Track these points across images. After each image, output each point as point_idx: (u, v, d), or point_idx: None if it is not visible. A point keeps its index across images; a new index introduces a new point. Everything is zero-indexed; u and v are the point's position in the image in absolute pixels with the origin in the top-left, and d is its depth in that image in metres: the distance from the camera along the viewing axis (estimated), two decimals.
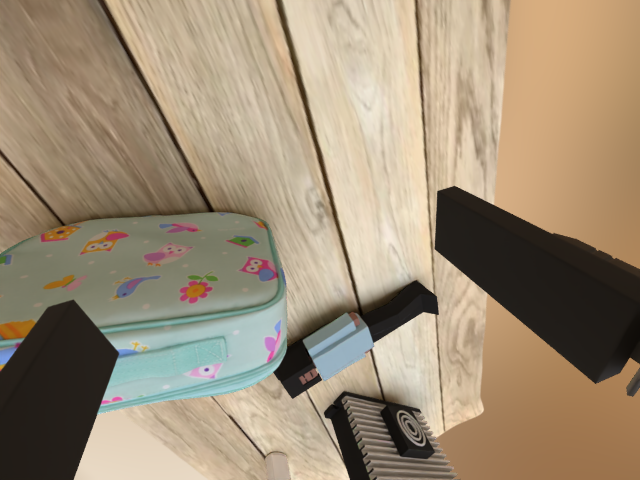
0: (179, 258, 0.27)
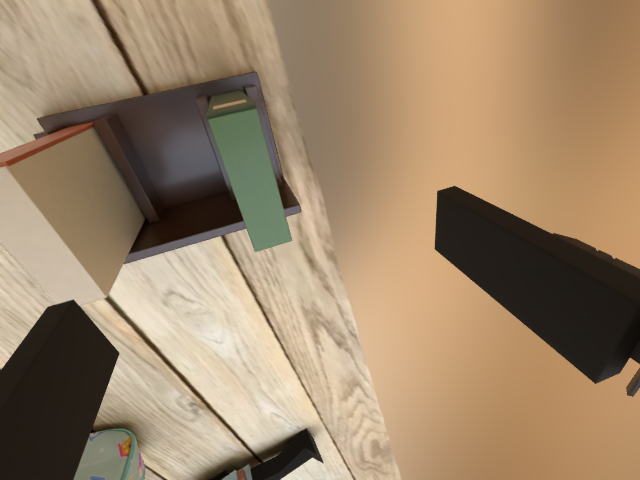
0: None
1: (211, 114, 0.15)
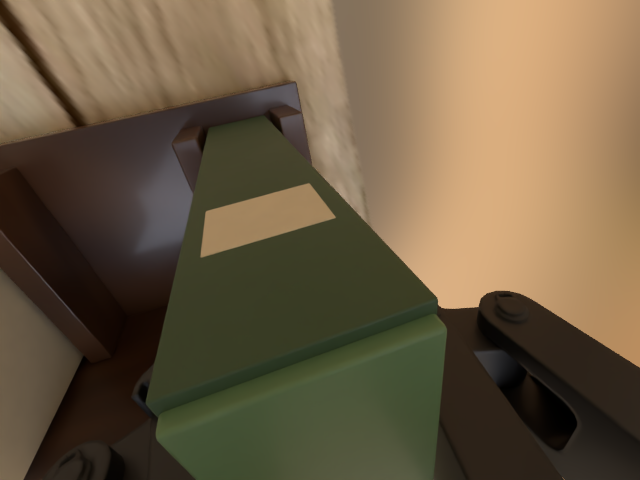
0: None
1: (182, 379, 0.02)
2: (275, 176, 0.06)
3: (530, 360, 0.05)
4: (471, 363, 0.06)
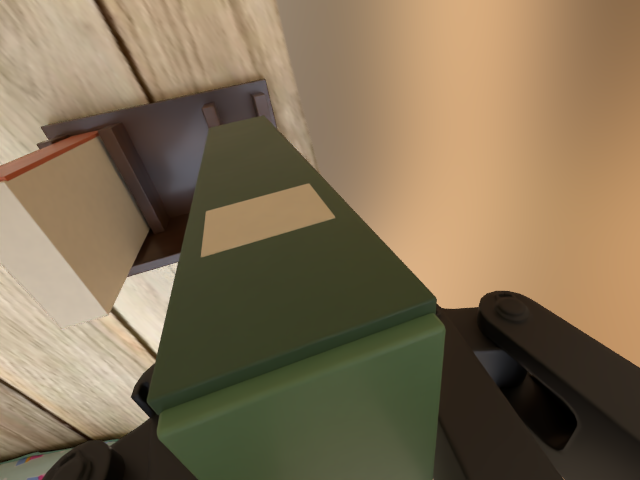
0: None
1: (183, 377, 0.03)
2: (275, 176, 0.06)
3: (530, 360, 0.05)
4: (471, 363, 0.06)
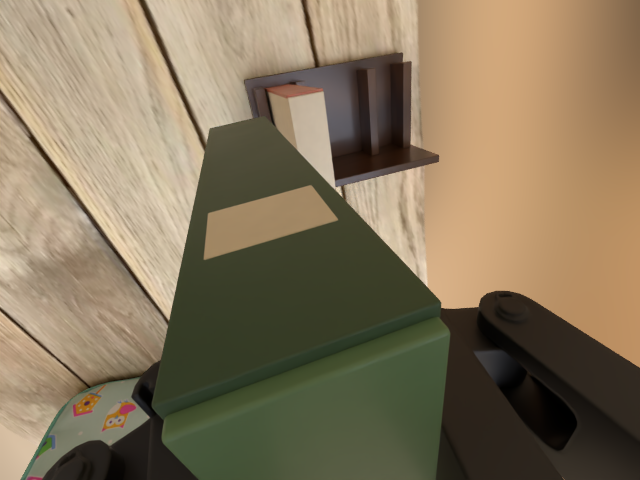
0: None
1: (187, 381, 0.03)
2: (277, 178, 0.06)
3: (530, 360, 0.05)
4: (471, 363, 0.06)
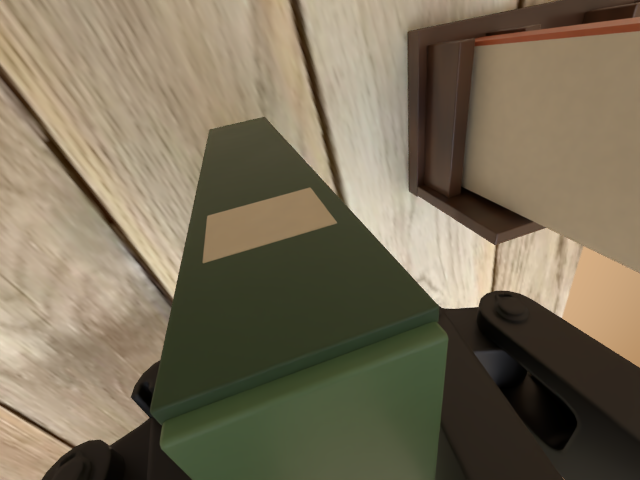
0: None
1: (186, 387, 0.03)
2: (276, 180, 0.06)
3: (530, 360, 0.05)
4: (471, 363, 0.06)
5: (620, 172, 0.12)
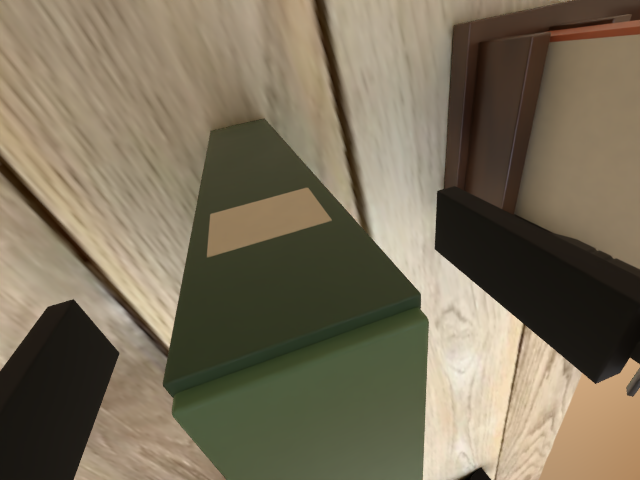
0: None
1: (194, 364, 0.03)
2: (276, 180, 0.07)
3: None
4: None
5: None
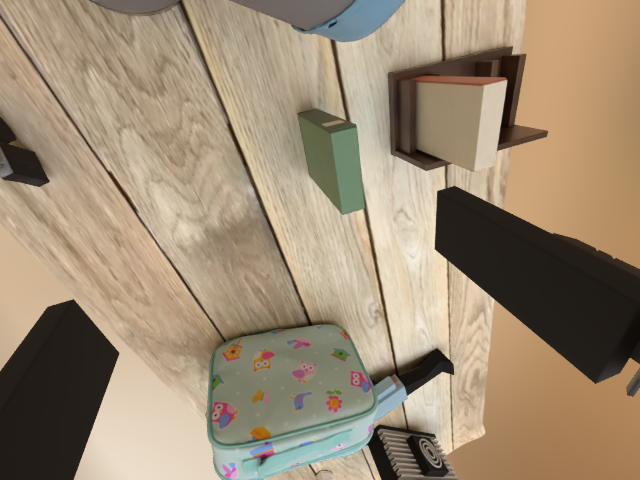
0: (314, 375, 0.47)
1: (331, 130, 0.27)
2: (332, 119, 0.31)
3: None
4: None
5: (460, 132, 0.32)
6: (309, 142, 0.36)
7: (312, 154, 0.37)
